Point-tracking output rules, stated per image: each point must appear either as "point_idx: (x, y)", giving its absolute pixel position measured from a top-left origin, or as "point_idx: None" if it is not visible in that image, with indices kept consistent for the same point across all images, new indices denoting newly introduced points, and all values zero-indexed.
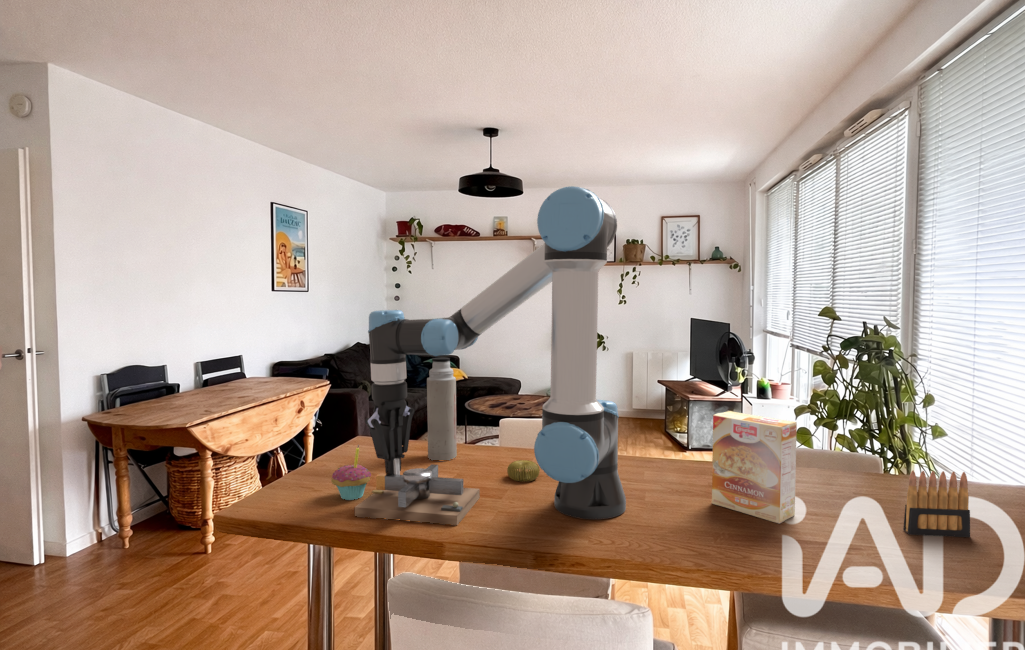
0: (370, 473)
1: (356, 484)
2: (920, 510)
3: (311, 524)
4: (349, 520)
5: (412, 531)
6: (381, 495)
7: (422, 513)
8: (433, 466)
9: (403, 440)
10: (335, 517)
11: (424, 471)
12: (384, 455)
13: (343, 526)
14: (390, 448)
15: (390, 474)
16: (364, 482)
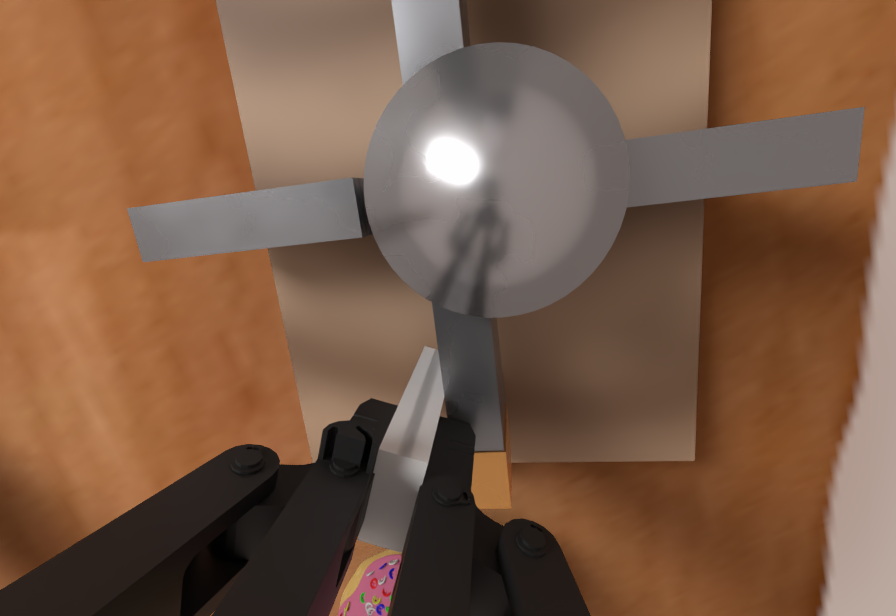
0: (374, 570)
1: None
2: None
3: (800, 558)
4: (724, 434)
5: (824, 48)
6: None
7: (708, 41)
8: (175, 222)
9: (178, 571)
10: (700, 505)
11: (440, 141)
12: (569, 574)
13: (803, 425)
14: (467, 597)
15: (470, 428)
16: None
